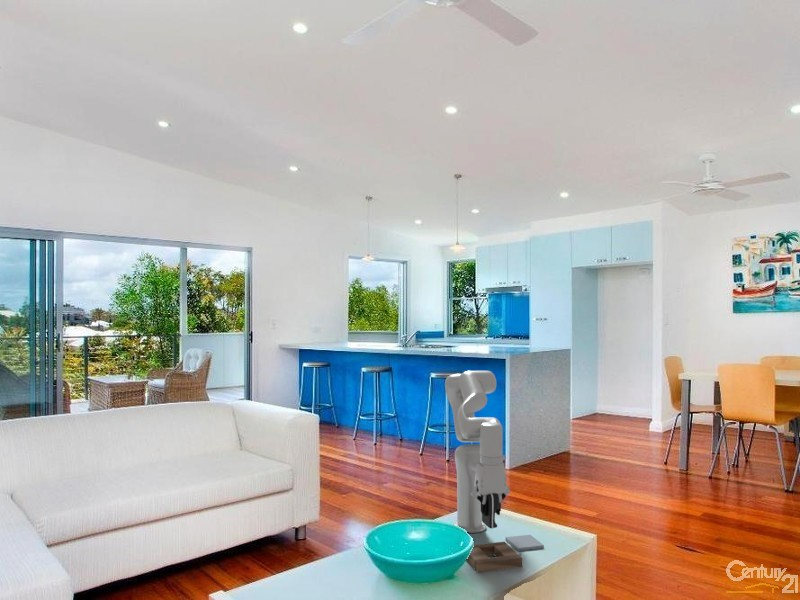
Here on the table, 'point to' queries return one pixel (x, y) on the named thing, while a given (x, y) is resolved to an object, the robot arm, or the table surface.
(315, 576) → the table surface
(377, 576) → the table surface
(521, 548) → the tile
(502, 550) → the holder
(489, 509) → the battery charger
